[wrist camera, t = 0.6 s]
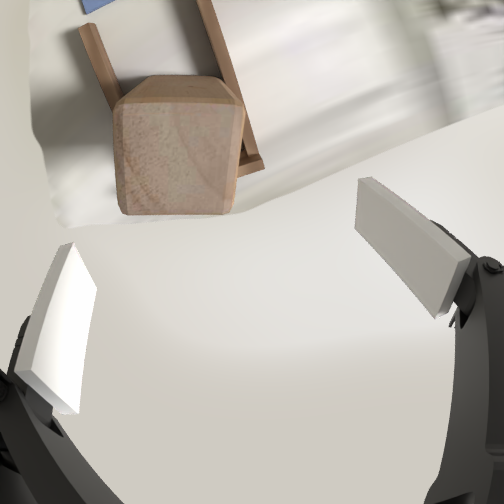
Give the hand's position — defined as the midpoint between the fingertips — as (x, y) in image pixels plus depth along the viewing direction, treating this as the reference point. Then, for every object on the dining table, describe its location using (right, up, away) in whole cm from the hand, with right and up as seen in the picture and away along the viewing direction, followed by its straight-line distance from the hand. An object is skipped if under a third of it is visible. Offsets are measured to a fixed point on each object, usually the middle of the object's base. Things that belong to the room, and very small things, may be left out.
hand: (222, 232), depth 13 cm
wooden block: (-8, +18, +24) cm, 31 cm away
